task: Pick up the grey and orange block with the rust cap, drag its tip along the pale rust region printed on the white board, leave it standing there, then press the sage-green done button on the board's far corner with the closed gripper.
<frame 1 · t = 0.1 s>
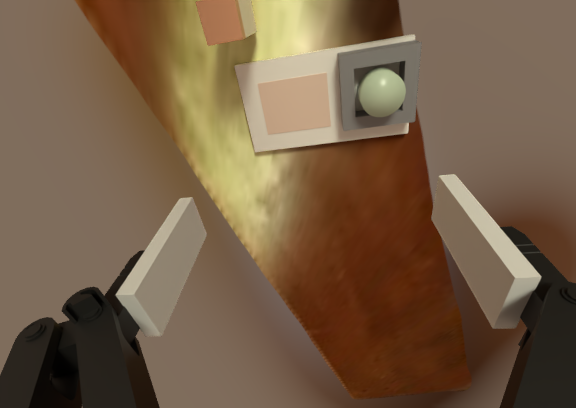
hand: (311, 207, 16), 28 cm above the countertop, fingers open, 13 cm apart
button: (380, 92, 35), point 4 cm above the countertop, slide at 0.0 cm
grey and orange block: (241, 16, 35), on the countertop
board: (324, 99, 40), on the countertop
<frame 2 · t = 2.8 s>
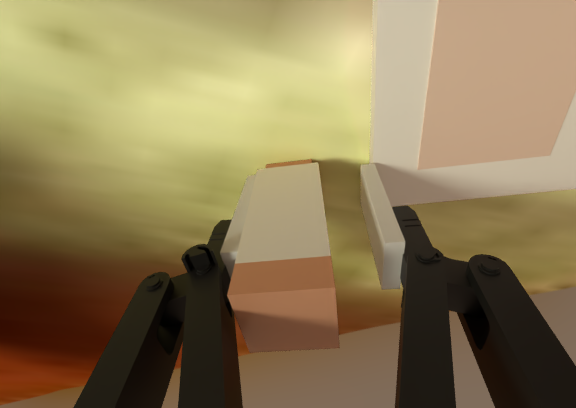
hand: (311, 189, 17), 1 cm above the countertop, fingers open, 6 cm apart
grey and orange block: (291, 181, 19), on the countertop, touching gripper
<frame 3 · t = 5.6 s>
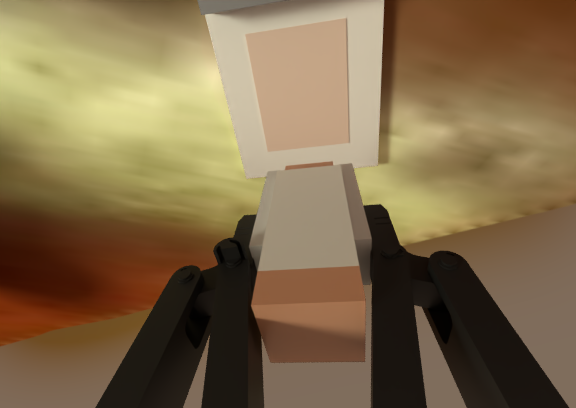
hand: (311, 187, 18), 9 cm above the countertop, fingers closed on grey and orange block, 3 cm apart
grey and orange block: (311, 183, 18), point 9 cm above the countertop, touching gripper
board: (295, 33, 21), on the countertop
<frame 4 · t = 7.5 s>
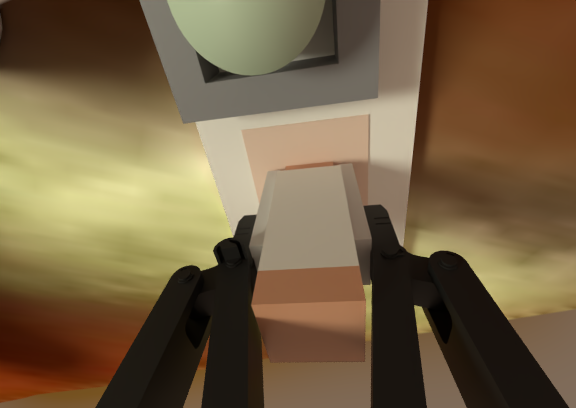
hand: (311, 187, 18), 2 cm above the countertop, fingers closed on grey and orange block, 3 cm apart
grey and orange block: (311, 184, 18), point 1 cm above the countertop, touching gripper
board: (304, 124, 17), on the countertop
when the fingers open (2 cm above the countertop, at t = 8.2 s): grey and orange block stays where it is, resting on board.
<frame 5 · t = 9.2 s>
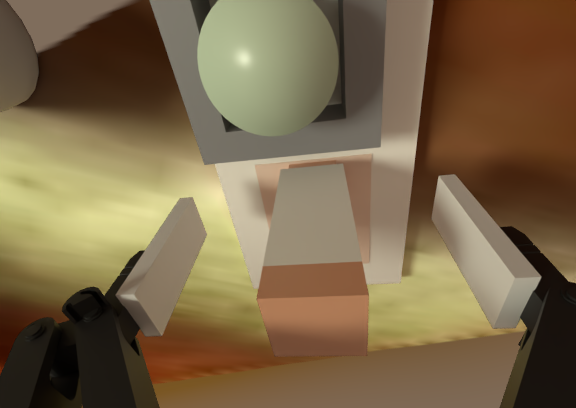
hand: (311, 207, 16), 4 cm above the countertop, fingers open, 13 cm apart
button: (272, 62, 12), point 4 cm above the countertop, slide at 0.0 cm
grey and orange block: (314, 182, 18), point 1 cm above the countertop, touching board
board: (312, 159, 19), on the countertop
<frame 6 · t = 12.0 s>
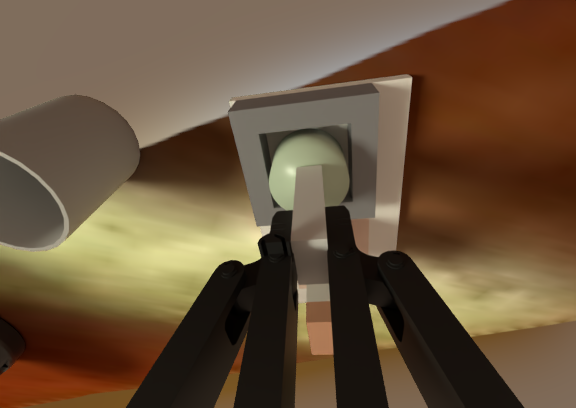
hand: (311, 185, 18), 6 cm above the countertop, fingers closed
button: (308, 172, 19), point 4 cm above the countertop, slide at -0.4 cm, touching gripper
cup: (84, 142, 24), on the countertop
grey and orange block: (328, 231, 26), point 1 cm above the countertop, touching board
board: (326, 214, 26), on the countertop
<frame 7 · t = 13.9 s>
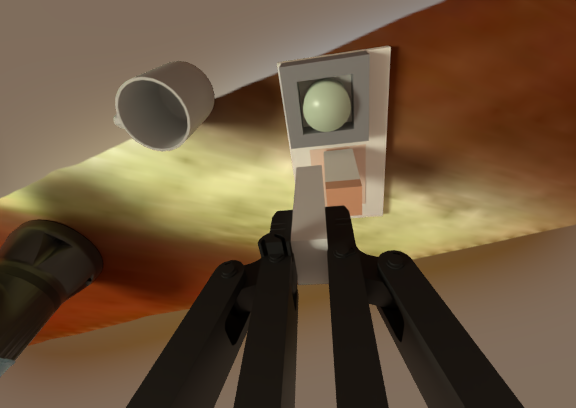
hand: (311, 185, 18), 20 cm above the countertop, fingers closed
button: (326, 105, 32), point 3 cm above the countertop, slide at -1.3 cm
cup: (177, 95, 36), on the countertop
grey and orange block: (337, 158, 38), point 1 cm above the countertop, touching board
board: (336, 147, 38), on the countertop
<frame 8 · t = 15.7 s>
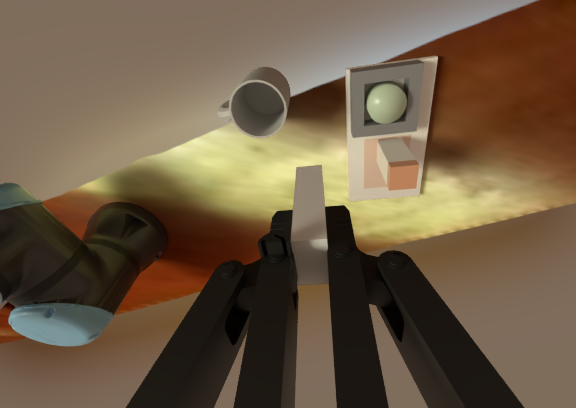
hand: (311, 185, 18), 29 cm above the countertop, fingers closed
button: (385, 102, 40), point 3 cm above the countertop, slide at -1.3 cm
cup: (257, 94, 44), on the countertop
grey and orange block: (386, 146, 46), point 1 cm above the countertop, touching board
board: (385, 137, 46), on the countertop
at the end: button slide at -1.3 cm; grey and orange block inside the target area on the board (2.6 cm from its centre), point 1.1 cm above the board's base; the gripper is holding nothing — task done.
